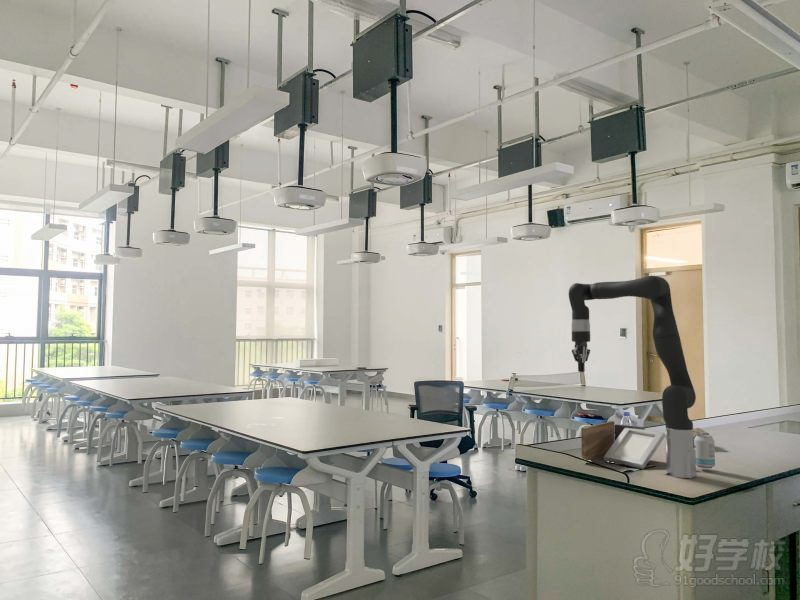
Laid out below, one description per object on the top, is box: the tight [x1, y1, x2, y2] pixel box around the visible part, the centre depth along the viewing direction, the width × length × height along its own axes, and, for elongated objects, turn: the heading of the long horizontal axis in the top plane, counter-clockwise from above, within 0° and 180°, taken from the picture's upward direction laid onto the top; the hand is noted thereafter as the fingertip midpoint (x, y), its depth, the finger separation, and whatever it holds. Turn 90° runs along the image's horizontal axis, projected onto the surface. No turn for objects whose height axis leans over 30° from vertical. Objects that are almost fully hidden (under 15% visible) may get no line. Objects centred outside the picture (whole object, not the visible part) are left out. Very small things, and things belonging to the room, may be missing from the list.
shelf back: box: [580, 420, 615, 462], centre depth 245 cm, size 2×28×14 cm, turn 138°
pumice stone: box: [693, 427, 710, 446], centre depth 277 cm, size 14×12×8 cm
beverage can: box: [694, 434, 716, 469], centre depth 231 cm, size 7×7×12 cm
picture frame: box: [603, 428, 666, 470], centre depth 239 cm, size 16×3×21 cm
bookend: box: [614, 423, 646, 441], centre depth 250 cm, size 12×6×13 cm, turn 48°
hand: (581, 371), depth 254 cm, fingers closed
